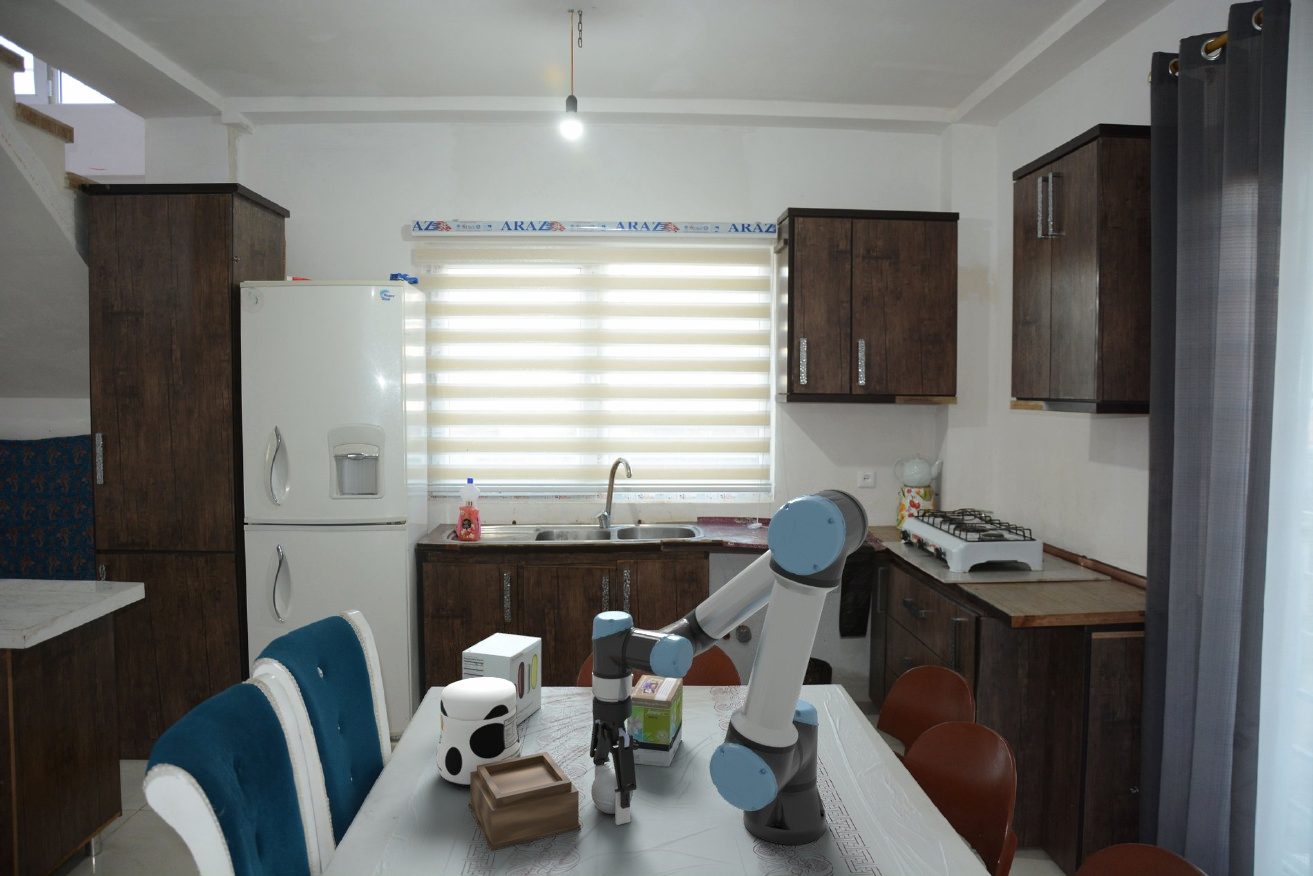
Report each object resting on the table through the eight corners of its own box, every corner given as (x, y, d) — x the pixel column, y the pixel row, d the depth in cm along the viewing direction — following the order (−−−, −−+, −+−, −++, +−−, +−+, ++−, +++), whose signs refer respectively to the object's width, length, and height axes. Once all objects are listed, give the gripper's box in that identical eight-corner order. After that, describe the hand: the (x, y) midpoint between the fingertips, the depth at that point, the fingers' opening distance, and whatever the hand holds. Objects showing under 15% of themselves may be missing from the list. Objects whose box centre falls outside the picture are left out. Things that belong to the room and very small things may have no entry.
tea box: (671, 768, 173) (671, 700, 172) (625, 764, 175) (625, 696, 174) (682, 739, 188) (683, 676, 187) (640, 735, 190) (640, 673, 189)
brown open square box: (580, 828, 149) (580, 783, 148) (491, 851, 141) (491, 803, 141) (550, 789, 163) (550, 747, 163) (468, 807, 156) (468, 764, 156)
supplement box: (510, 733, 190) (510, 657, 189) (461, 726, 194) (460, 651, 193) (543, 706, 207) (543, 636, 206) (496, 700, 211) (496, 631, 210)
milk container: (432, 763, 175) (431, 681, 174) (513, 750, 181) (512, 671, 180) (441, 800, 159) (440, 710, 158) (529, 786, 165) (528, 699, 164)
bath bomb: (641, 811, 155) (642, 770, 154) (609, 827, 149) (609, 784, 149) (614, 796, 161) (614, 757, 160) (582, 810, 155) (582, 769, 155)
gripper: (656, 712, 145) (655, 833, 147) (607, 673, 165) (607, 780, 167) (617, 719, 142) (617, 843, 143) (573, 679, 162) (573, 788, 163)
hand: (612, 809), depth 155 cm, fingers open, 9 cm apart
